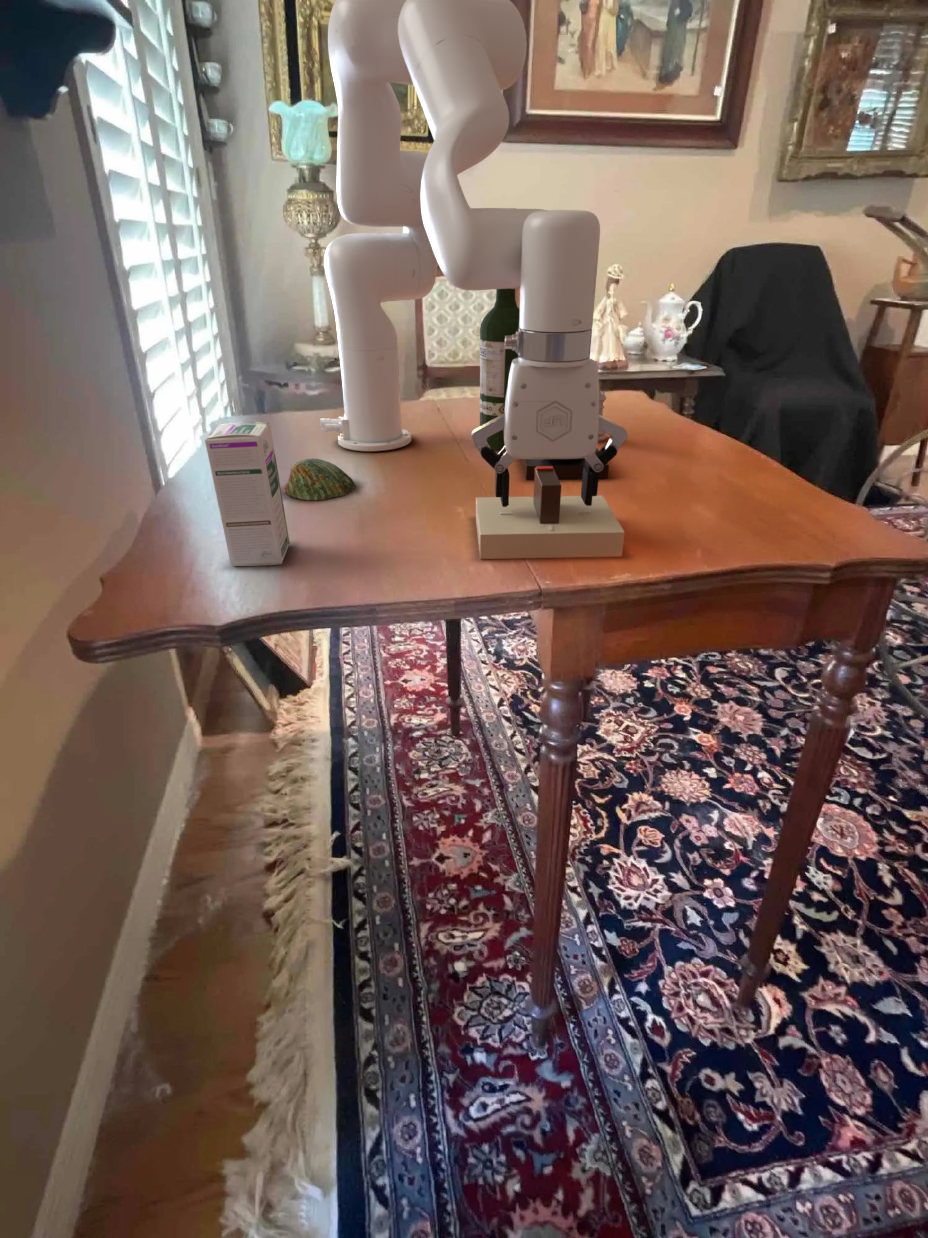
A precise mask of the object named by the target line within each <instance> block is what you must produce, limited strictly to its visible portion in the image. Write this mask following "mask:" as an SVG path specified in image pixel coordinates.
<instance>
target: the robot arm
mask: <svg viewBox="0 0 928 1238" xmlns="http://www.w3.org/2000/svg"><path fill="white" fill-rule="evenodd" d="M521 15H522V14H521V13H520V11H519V9H518V7H517V6H515V4H514V2H512V1H511V0H335V2H334V4H333V6H332V8H331V11H330V16H329V19H328V25H327V26H328V27H327V52H328V59H329V65H330V70H331V71H330V72H331V76H332V80H333V84H334V90H335V95H336V101H337V142H336V143H337V144H336V151H337V152H336V201H337V206H338V210H339V212H340V215H341V217H342V218H343V219H344V220H345V221H346V222H347V223H349V224H350V225H353V226H359V227H367V228H369V227H370V228H402V232H355V233H346V234H343V235H340V236H337V237H336V238H334V239H333V240H331V241H330V242H329V244H328V245H327V247H326V249H325V252H324V260H323V262H324V271H325V277H326V280H327V281H326V282H327V284H328V289H329V293H330V297H331V301H332V306H333V311H334V318H335V327H336V334H337V335H336V336H337V345H338V354H339V365H340V375H341V387H342V398H343V409H344V410H343V411H344V413H343V416H338V417H337V418H320V419H319V426H320V427H319V428H320V430H321V431H324V432H325V433H334V432H335V433H336V432H337V433H339V435H338V436H337V443H338V445H339V446H340V447H341V448H344V449H346V450H350V451H357V452H383V451H384V452H385V451H391V450H396V449H400V448H402V447H406V446H407V445H409V444H410V443H411V442H412V433H411V432H410V431H408V430H407V429H404V428H403V426H402V425H403V424H402V407H401V406H402V405H401V388H400V385H401V384H400V367H399V365H400V364H399V349H398V347H399V346H398V335H397V330H396V328H395V327H396V326H395V325H394V323H393V321H392V320H391V318H390V317H389V315H388V314H387V313H386V311H385V310H384V308H383V307H382V305H381V303H386V302H400V301H412V300H421V299H423V298H425V297H427V296H428V295H429V294H430V293H431V292H432V291H433V289H434V286H435V282H436V279H437V273H438V267H439V269H440V270H441V272H442V275H443V276H444V277H445V279H446V280H447V281H448V282H449V283H450V284H451V285H453V286H454V287H455V288H457V289H460V290H464V291H488V290H496V289H509V288H510V289H515V290H517V289H519V294H520V295H519V309H520V315H519V316H520V319H519V327H520V328H518V332H516V334H512V336H505V349H512V351H513V350H515V351H516V353H518V358H516V359H513V360H512V364H511V368H510V372H509V378H508V385H507V391H506V400H505V411H504V414H502V415H500V416H498V417H497V418H495V419H493V420H491V421H489V422H487V423H485V424H483V425H481V426H480V425H479V426H478V427H476V428H474V429H473V430H472V431H471V439H472V441H473V443H474V445H475V446H476V448H477V451H478V452H479V454H480V456H481V458H482V459H483V460H484V461H485V462H486V463H488V465H489V466H490V467H491V468H492V469H493V470H494V472H495V485H494V487H495V489H494V493H495V497H501V503H502V507H507V506H508V505H509V497H510V472H509V466H511V464H512V463H513V462H514V461H515V460H516V459H518V460H520V459H579V458H584V459H585V460H586V461H587V464H585V466H584V467H583V477H582V480H581V490H580V496H581V498H582V500H583V502H584V504H585V505H586V506H591V505H592V496H597V495H598V489H599V480H600V479H599V472H601V471H602V470H603V467H604V466H605V465H606V464H607V463H608V464H609V462H610V461H611V460H613V459H614V458H615V457H616V456H617V454H618V451H619V449H621V447H622V446H623V444H624V442H625V441H626V439H627V438H628V433H629V432H628V431H627V430H626V429H625V428H624V427H622V426H621V425H619V424H617V423H615V422H613V421H611V420H610V419H608V418H606V417H604V416H603V417H602V416H601V415H599V391H600V380H599V379H600V377H599V366H598V362H597V361H596V360H594V359H592V358H591V345H592V336H593V335H592V334H593V323H594V311H595V299H596V289H597V288H596V286H597V276H598V275H597V274H598V265H599V264H598V262H599V251H600V240H601V239H600V238H601V223H600V221H599V219H598V216H597V215H596V214H595V213H594V212H591V211H588V210H580V209H579V210H578V209H550V210H549V209H542V208H516V207H471V206H470V205H469V203H468V202H467V199H466V197H465V194H464V191H463V188H462V186H461V183H460V181H459V177H458V175H460V174H461V173H464V172H466V171H467V170H469V169H470V168H472V167H474V166H476V165H477V164H480V163H481V162H482V161H484V160H485V159H487V158H488V157H490V155H492V154H493V153H494V152H495V151H496V150H497V148H499V146H500V145H501V144H502V142H503V141H504V139H505V137H506V135H507V132H508V129H509V124H510V112H509V107H508V104H507V102H506V98H505V96H504V95H503V91H505V90H508V89H509V88H510V87H512V86H513V85H514V84H515V83H516V81H517V80H518V79H519V77H520V76H521V74H522V71H523V69H524V66H525V63H526V57H527V48H528V47H527V46H528V44H527V43H528V41H527V32H526V28H525V23H524V20H523V18H522V16H521ZM391 84H399V85H400V84H401V85H406V86H407V85H408V86H413V88H414V91H415V93H416V95H417V98H418V101H419V103H420V107H421V109H422V112H423V115H424V117H425V120H426V123H427V126H428V128H429V131H430V133H431V136H432V139H433V143H432V144H431V147H430V149H429V151H428V153H426V152H423V151H417V150H401V136H402V125H403V117H402V111H401V106H400V103H399V100H398V98H397V96H396V93H395V91H394V89H393V87H392V85H391ZM598 429H600V430H601V431H603V432H605V434H608V435H609V436H610V438H609V439H608V441H607V443H606V444H605V445H604V446H602V447H601V448H600V449H598V443H599V442H598ZM501 430H503V436H504V443H505V446H504V447H503V448H502V449H501V451H498V453H497V451H494V450H493V449H492V448H491V447H490V446H489V444H488V442H487V438H488V437H490V436H491V435H493V434H495V433H497V432H499V431H501ZM596 448H597V449H598V450H599V451H598V452H597V453H595V451H596Z"/></svg>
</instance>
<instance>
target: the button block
mask: <svg viewBox="0 0 928 1238" xmlns="http://www.w3.org/2000/svg"><path fill="white" fill-rule="evenodd" d="M599 450H600V449H599V448H598V447H597V448H596V451H595V453H597V452H598V451H599ZM519 462H520V466H521V468H522V472H523V475H524V478H525V481H534V477H535V468H536V466H553V469H554V471H555V473H556V475H557V477H558V479H559V481H577V480H579V481H580V480H581V481H582V477H583V467H584V466H585V464H587V461H586V460H585V459H584V458H579V459H519ZM609 469H610V464H609V462H608V463H607V464H606V465H605V466H604V467H603V470H602V471H601V472H599V480H608V479H609Z"/></svg>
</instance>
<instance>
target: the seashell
mask: <svg viewBox="0 0 928 1238" xmlns="http://www.w3.org/2000/svg"><path fill="white" fill-rule="evenodd" d="M355 483H356V482H354V480H353V479H352V478H351V476H350V475H348V474H347V473H346V472H345V471H344V470H342V468H340V467H339V466H338V465H336V464H334V463H332V462H330V461H327V460H324V459H320V458H306V459H305V458H304V459H302V460H301V459H300V460H298V461H295V462H294V463H293V464H292V465H291V467H290V471H289V476H288V480H287V482H286V484H285V485H284V487H283V492H284V494H286V495H288V497H292V498H293V499H299V500H306V501H321V500H322V501H323V500H324V501H325V500H328V499H335V498H338V497H339V498H340V497H341V496H345V495H346V494H349V493H350V492H352V490H354V489H355V488H356V484H355Z"/></svg>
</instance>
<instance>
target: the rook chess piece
mask: <svg viewBox="0 0 928 1238" xmlns="http://www.w3.org/2000/svg"><path fill="white" fill-rule="evenodd" d="M605 392H606V391H602V390H599V415H601V416H602V417H604V416H603V412H604V408H605V406H604V402H605V401H606V399H607V396H606V395H605ZM605 434H606V433H605V432H603V431H601V430H600V429H598V442H597V443H599V442H603V441H604V440H606V438H607V436H606V435H605Z"/></svg>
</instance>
